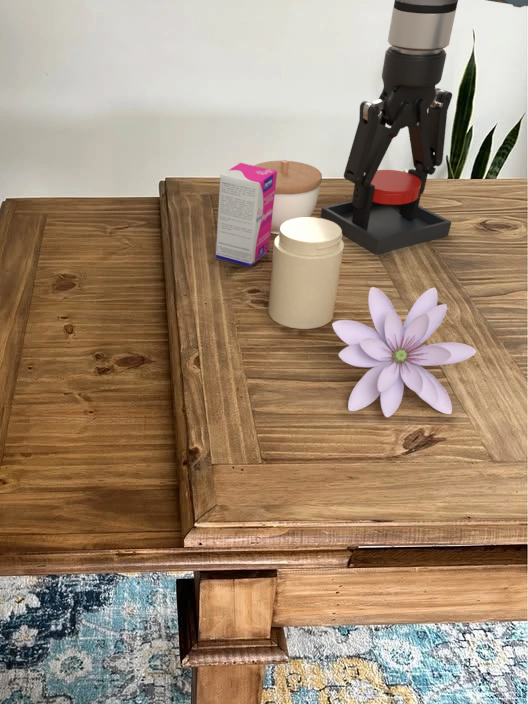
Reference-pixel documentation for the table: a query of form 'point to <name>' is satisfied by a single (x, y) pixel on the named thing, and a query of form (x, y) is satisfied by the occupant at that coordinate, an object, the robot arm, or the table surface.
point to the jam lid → (395, 187)
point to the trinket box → (293, 191)
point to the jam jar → (305, 272)
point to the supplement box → (245, 214)
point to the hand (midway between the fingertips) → (383, 222)
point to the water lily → (398, 353)
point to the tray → (387, 226)
